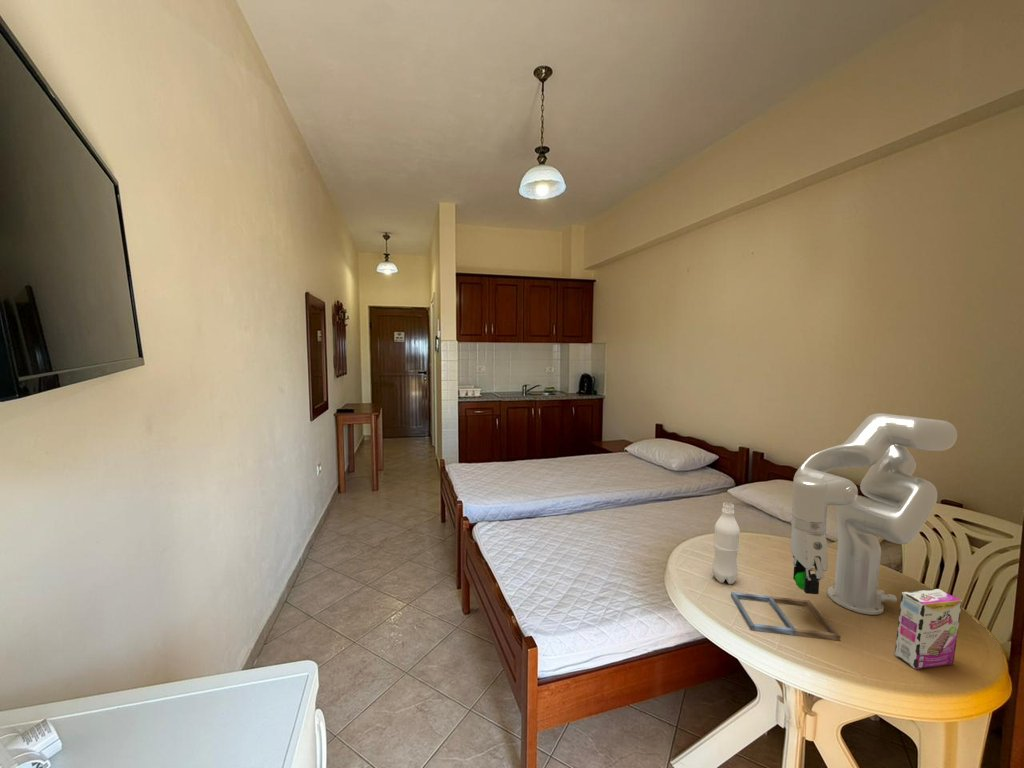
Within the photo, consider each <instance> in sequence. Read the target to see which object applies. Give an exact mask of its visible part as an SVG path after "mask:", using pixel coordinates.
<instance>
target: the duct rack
mask: <svg viewBox="0 0 1024 768" xmlns="http://www.w3.org/2000/svg"><path fill="white" fill-rule="evenodd" d="M730 597H731V599H732V601H733V602H734V604H735V605H736V607H737V609H738V611H739V612H740V614H741V617H743V619H744V621H745V623H746V624H747V626H748V628H749V630H750V631H755V632H756V631H757V632H764V633H765V632H766V633H774V634H779V635H780V634H781V635H790V636H796V637H797V636H799V637H806V638H813V639H814V638H816V639H823V640H832V641H838V642H841V638H842V636H841V635H840V634H839V632H838V631H837V630H836V629H835V628H834V627H833V626H832V624H831V623H829V621H828V620H827V619H826V618H825V617H824V616H823V614H822V613H821V612H820V611H819V610H818V609H817V608H816V607H815V605H814V604H813V603H812V602H811V600H807V599H799V598H790V597H780V596H779V597H778V596H772V595H771V596H770V595H761V594H752V593H742V592H733V591H732V592H730ZM741 600H748V601H756V602H766V603H769V604H770V606H771V607H772V609H774V612H775V613H776V614H777V615H778V617H779V618H780V619H781V621H782V623H783V624H784V625H785V626H786V627H785V626H777V625H769V624H768V625H767V624H761V623H760V624H759V623H754V622H753V620H752V619H751V617H750V615H749V614H748V612H747V610H746V609H745V607H744V606H743V603H742V602H741ZM778 604H784V605H793V606H795V605H796V606H801V607H802V606H803V607H804V606H805V607H807V608H808V609H809V610H810V611H811V613H812V614H813V615H814V617H815V618H816V619H817V620H818V621H819V623H820V624H821V625H822V626H823V627H824V628H825V629H826V630H827V631H819V630H818V631H817V630H811V629H803V628H802V629H801V628H795V627H794V624H793V623H792V622H791V621H790V620H789V618H788V616H787V615H786V614H785V613H784V611H783V610H782V609H781V607H780V606H779V605H778Z"/></svg>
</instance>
